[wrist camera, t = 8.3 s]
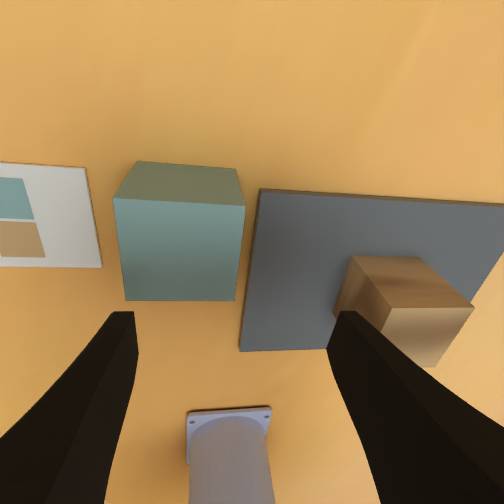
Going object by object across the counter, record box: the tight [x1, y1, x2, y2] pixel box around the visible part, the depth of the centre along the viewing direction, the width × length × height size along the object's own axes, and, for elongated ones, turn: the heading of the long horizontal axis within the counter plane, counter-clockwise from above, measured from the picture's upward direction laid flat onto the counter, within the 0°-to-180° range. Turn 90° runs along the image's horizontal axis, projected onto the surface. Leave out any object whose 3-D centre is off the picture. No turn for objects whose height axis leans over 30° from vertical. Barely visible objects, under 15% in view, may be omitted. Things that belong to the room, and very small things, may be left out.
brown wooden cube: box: [332, 255, 475, 368], centre depth 19 cm, size 5×5×5 cm
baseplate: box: [239, 189, 504, 352], centre depth 21 cm, size 13×18×1 cm
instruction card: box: [0, 162, 103, 268], centre depth 16 cm, size 6×8×1 cm
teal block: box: [113, 161, 246, 301], centre depth 15 cm, size 5×5×5 cm
